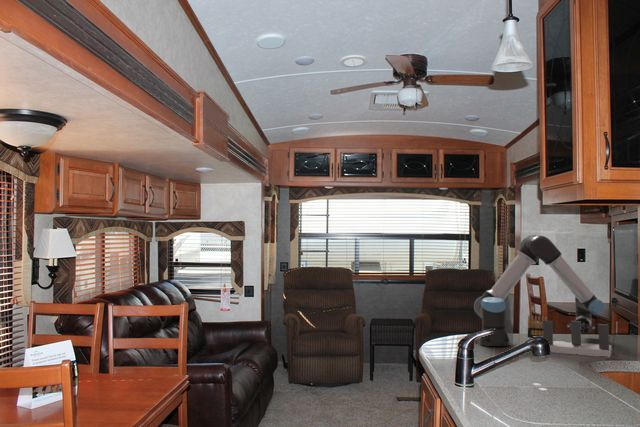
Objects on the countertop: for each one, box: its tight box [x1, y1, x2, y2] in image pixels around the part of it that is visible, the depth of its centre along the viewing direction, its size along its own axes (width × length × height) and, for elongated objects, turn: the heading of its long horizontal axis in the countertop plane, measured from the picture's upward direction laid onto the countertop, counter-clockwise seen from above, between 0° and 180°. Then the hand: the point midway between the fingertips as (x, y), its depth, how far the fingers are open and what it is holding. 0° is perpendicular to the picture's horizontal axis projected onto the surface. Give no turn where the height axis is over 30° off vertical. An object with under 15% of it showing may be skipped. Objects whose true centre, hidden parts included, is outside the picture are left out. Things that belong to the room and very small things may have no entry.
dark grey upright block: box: [570, 320, 582, 345], centre depth 260 cm, size 2×4×11 cm, turn 59°
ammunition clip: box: [527, 314, 549, 338], centre depth 293 cm, size 11×2×12 cm, turn 58°
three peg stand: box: [543, 319, 613, 358], centre depth 259 cm, size 13×29×14 cm, turn 60°
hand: (578, 332), depth 261 cm, fingers closed
